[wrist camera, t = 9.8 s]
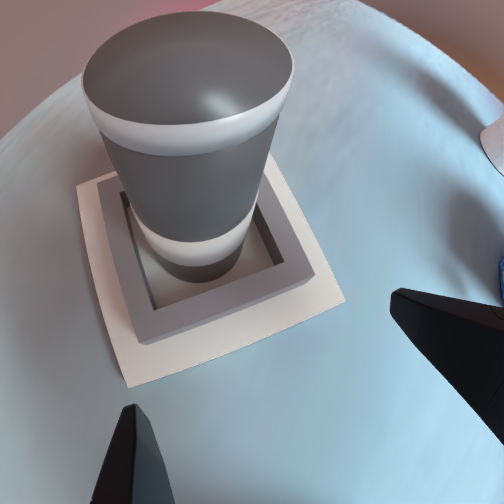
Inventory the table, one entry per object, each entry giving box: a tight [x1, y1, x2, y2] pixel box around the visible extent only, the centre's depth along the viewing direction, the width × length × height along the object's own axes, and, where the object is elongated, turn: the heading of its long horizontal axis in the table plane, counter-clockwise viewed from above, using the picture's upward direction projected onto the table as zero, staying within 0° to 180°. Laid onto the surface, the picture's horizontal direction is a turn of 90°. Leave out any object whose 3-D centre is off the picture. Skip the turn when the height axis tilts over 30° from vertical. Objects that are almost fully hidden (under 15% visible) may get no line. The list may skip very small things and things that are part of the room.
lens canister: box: [81, 11, 294, 283], centre depth 13 cm, size 6×6×13 cm
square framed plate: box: [76, 152, 346, 388], centre depth 18 cm, size 14×14×3 cm
